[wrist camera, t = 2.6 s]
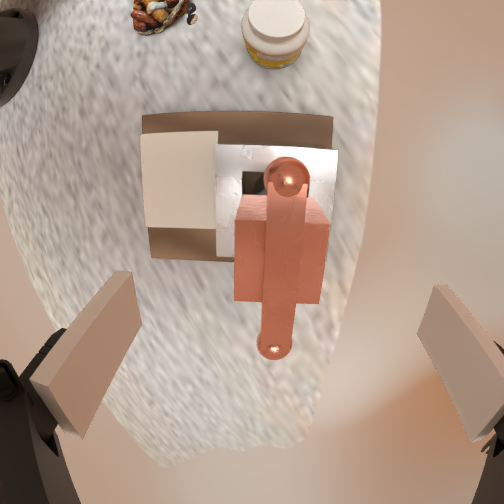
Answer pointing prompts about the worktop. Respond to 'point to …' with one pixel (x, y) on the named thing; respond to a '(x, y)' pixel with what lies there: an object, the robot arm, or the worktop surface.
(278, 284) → the copper link bar
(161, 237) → the board
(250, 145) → the eye block
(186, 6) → the brown mottled lumpy part
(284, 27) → the supplement bottle
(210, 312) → the worktop surface
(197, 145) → the mat
